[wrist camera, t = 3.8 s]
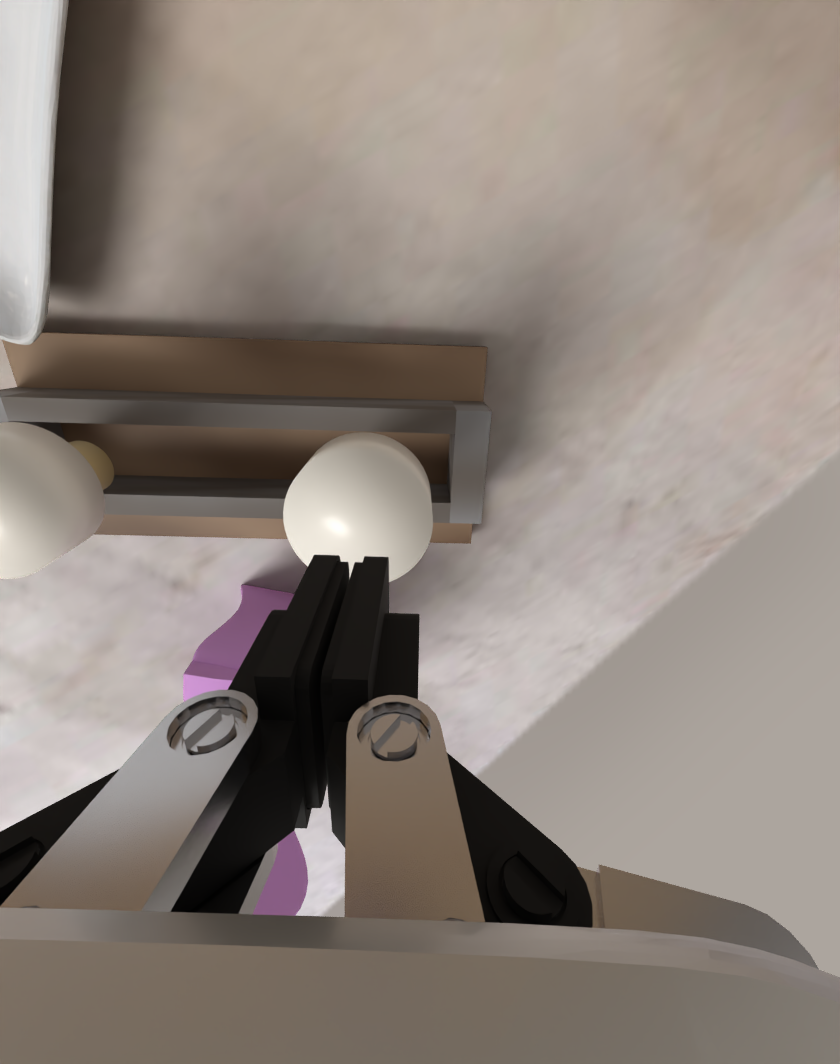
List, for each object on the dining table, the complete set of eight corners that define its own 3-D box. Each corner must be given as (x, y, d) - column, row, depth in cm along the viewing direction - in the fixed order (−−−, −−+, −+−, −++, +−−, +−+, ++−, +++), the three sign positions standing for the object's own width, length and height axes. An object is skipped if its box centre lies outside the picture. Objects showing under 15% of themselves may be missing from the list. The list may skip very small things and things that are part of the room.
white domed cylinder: (312, 415, 18) (275, 447, 14) (431, 419, 18) (436, 451, 14) (319, 524, 20) (290, 585, 16) (426, 527, 20) (429, 588, 16)
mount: (17, 331, 21) (-61, 332, 18) (484, 346, 22) (497, 350, 18) (77, 526, 25) (24, 557, 22) (468, 535, 26) (477, 568, 22)
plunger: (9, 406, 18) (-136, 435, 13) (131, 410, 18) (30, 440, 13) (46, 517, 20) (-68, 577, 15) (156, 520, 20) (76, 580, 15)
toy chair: (363, 598, 28) (313, 865, 14) (342, 704, 31) (285, 999, 18) (225, 573, 27) (27, 830, 13) (219, 685, 30) (58, 979, 17)
